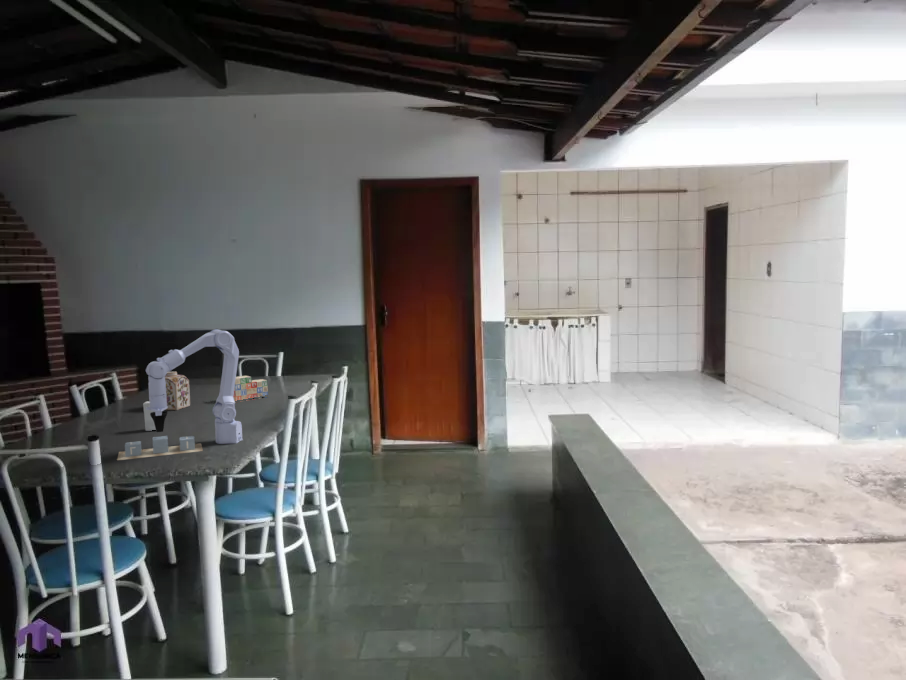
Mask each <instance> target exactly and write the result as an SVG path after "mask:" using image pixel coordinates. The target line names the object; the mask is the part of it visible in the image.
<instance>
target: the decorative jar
mask: <svg viewBox="0 0 906 680" xmlns="http://www.w3.org/2000/svg"><path fill="white" fill-rule="evenodd" d="M165 382H166V396H167V406H168V408H167V409H165V410H164V411H179V410H182V408H183V409H185V408H187V407H190V406H191V395H190V394H191V393H190V392H191V390H190V379H188V378H187V376H185V375H184V374H178V372H177V371H169V372H167V374H166V376H165Z"/></svg>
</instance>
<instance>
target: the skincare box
mask: <svg viewBox="0 0 906 680" xmlns="http://www.w3.org/2000/svg"><path fill="white" fill-rule="evenodd" d="M142 406H143V416H144V417H143V418H144V427H145V428H144V429H145V432H149V431H151V432H153V431H152V430H156V428H155V424H154V421H153V419H152V417H151V416H150V413H151V412H154V411H151V410H146V407H150V402H149V401H145V402H143V404H142Z"/></svg>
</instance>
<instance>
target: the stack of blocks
mask: <svg viewBox="0 0 906 680" xmlns="http://www.w3.org/2000/svg"><path fill="white" fill-rule="evenodd" d="M268 388H269V386H268V380H267V379H263V378H262V379H253V378H252V376H249V375H239V376H238V375H237V376H236V380H235V387H234V395H233V398H234V401H237V400H243V399H248V398H254V397H260V396H265V395H268V396H269V389H268Z"/></svg>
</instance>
